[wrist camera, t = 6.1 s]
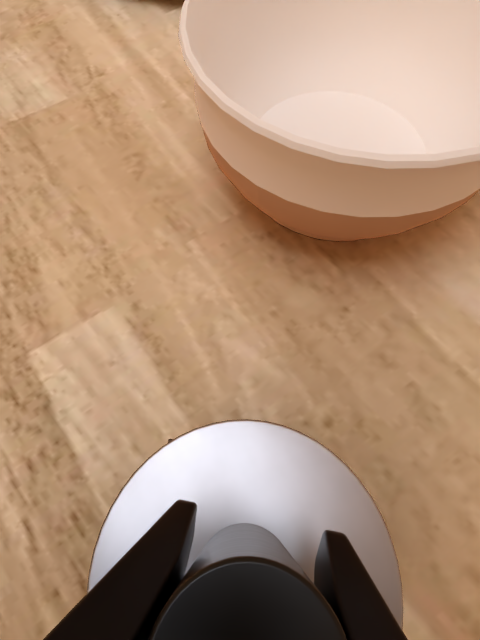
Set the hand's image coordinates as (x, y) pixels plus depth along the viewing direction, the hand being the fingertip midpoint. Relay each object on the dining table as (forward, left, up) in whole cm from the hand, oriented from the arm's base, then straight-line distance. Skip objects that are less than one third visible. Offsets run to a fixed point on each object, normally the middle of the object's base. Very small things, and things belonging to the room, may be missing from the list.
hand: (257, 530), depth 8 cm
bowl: (+15, -11, -8) cm, 21 cm away
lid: (-1, +1, -4) cm, 4 cm away
